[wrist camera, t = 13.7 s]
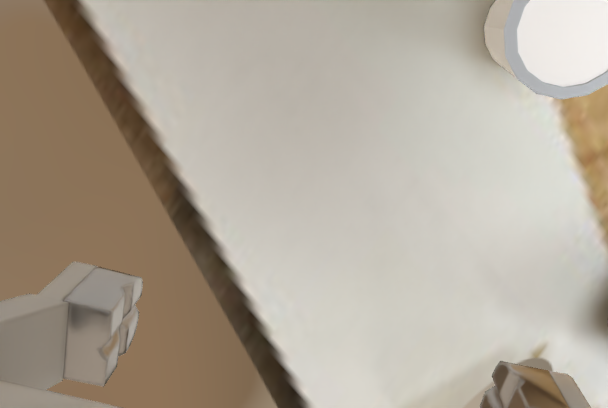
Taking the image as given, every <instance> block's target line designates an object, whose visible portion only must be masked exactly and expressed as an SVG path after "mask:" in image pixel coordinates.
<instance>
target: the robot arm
mask: <svg viewBox="0 0 608 408" xmlns="http://www.w3.org/2000/svg"><path fill="white" fill-rule="evenodd" d="M142 284H143V281H142V278H141V277H138V276H134V275H130V274H126V273H122V272H118V271H114V270H110V269H106V268H102V267H97V266H95V265H90V264H86V263H80V262H72V263H71V264H70V265H69V266H68V267H66V268H65V269H64V270H63V271H62V272H61V273H60V274H59V275H58V276H57V277H56V278H54V279H53V280H52V281H51V282H50V283H49V284H48V285H47V286H46V287H45V288H43V289H42V290H41V291H40V292H39V293H38V294H37V295H34V294H26V295H22V296H18V297H15V298H11V299H7V300H3V301H0V408H122V407H117V406H113V405H109V404H104V403H100V402H96V401H91V400H87V399H82V398H78V397H74V396H69V395H65V394H61V393H56V392H52V391H47V390H46V389H48V388H50V387H52V386H54V385H55V384H57V383H59V382H61V381H63V379H68V380H73V381H78V382H84V383H88V384H93V385H99V386H103V387H104V386H105V384H106V383H107V381H108V379H109V378H110V376H111V375H112V373H113V372H114V370H115V369H116V367H117V361H118V356H120V355H123V354H125V353H126V351H127V350H128V348H129V346H130V344H131V342H132V340H133V337H134V334H135V331H136V327H137V323H138V317H139V311H138V310H137V308H136V306H135V304H136V302H137V301H138V299H139V298H140V297H141V294H142ZM492 378H493V381H494V383H495V386H494V387H492V388H491V389H489V390H487V391H486V392H485V394H484V396H483V399H482V402H481V404H480V408H591V407H590V405H589V404H588V402H587V400H586V399H585V397H584V396H583V394H582V392H581V391H580V389H579V388H578V386H577V384H576V383H575V381H574V380H573V378H572V377H571V376H569V375H568V374H564V373H558V372H553V371H548V370H542V369H538V368H533V367H528V366H523V365H518V364H513V363H508V362H503V361H500V362H499V363H498V365H497V366H496V367H495V370H494V372H493V374H492Z"/></svg>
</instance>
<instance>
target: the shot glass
mask: <svg viewBox="0 0 608 408" xmlns="http://www.w3.org/2000/svg"><path fill="white" fill-rule="evenodd" d="M484 33H485V45H486V47H487V49H488V50H489V52H490V54H491V56H492V58H493V60H495V61H496V62H497V63H498V64H499V65H501V66H502V67H503V68H504V69H506V70H507V71H508V72H509V73H510V74H512V75H513V76H514V77H515V78H517V79H518V80H519V81H520V82H522V83H523V84H524V85H526V86H527V87H528V88H530V89H531V90H532V91H533V92H535V93H536V94H540V95H544V96H549V97H553V98H557V99H567V98H573V97H579V96H585V95H589V94H591V93H592V92H594V91H596V90H598V89H600V88H601V87H603V86H605V85H607V84H608V0H496V1H495V2H494V3H493V5H492V6H491V7H490V9H489V12H488V16H487V19H486V22H485V25H484Z"/></svg>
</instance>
